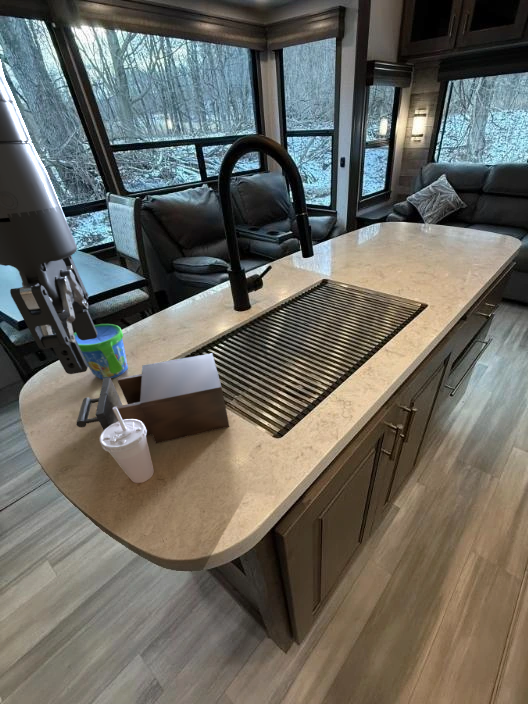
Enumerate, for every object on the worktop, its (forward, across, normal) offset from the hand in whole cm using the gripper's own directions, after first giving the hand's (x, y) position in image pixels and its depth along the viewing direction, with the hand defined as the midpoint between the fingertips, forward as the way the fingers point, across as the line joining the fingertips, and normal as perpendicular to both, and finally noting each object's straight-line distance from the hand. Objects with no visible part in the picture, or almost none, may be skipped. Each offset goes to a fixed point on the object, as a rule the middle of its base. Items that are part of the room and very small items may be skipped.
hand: (84, 353), depth 41 cm
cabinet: (+23, -13, +9) cm, 28 cm away
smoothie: (+23, 0, 0) cm, 23 cm away
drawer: (+22, -13, -1) cm, 26 cm away
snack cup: (+24, -36, -8) cm, 44 cm away
